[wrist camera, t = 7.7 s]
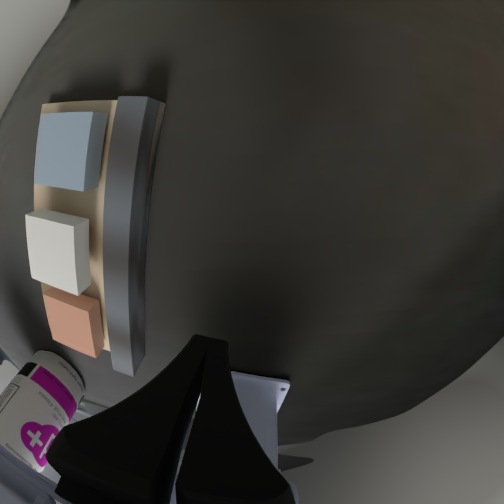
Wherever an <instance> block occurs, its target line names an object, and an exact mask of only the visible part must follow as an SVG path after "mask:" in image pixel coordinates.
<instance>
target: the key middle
mask: <svg viewBox="0 0 504 504" xmlns="http://www.w3.org/2000/svg"><path fill="white" fill-rule="evenodd" d="M25 217H26V234H27V245H28V254H29V262H30V269H31V276H32V278H33V279H36V280H38V281H41V282H43V283H46V284H48V285H51V286H53V287H56V288H58V289H61V290H63V291H66V292H69V293H72V294H74V295H77V296H79V295H80V294H81V293H82V292H83V291H84V290H85V289H86V288H87V287H89V286H90V285H91V278H90V260H89V219H87V218H83V217H78V216H73V215H69V214H64V213H59V212H55V211H50V210H46V209H38V210H36V211H33V212H31V213H28V214H26V215H25Z"/></svg>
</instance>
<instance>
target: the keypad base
mask: <svg viewBox="0 0 504 504" xmlns="http://www.w3.org/2000/svg"><path fill="white" fill-rule="evenodd" d="M165 106H166V104H165V103H163V102H160V101H158V100H155V99H153V98H150V97H144V96H118V100H93V101H73V102H60V103H50V104H43V105H42V110H41V114H48V113H63V112H100V113H107V114H108V117H107V122H106V128H105V134H104V141H103V148H102V156H101V165H100V175H99V187H97V188H93V189H90V190H87V191H77V190H71V189H65V188H58V187H51V186H45V185H38V184H34V211H36V210H38V209H46V210H50V211H55V212H59V213H64V214H69V215H73V216H78V217H83V218H87V219H89V260H90V278H91V285H90V286H89V287H87V288H86V289H85V290H84V291H83V292H82V293H81V294H82V295H85V296H88V297H91V298H94V299H97V300H99V304H100V314H101V323H102V331H103V338H104V345H105V346H104V348H103V349H105V350H108V351H110V352H111V359H112V365H113V370H116V371H118V372H121V373H124V374H127V375H130V376H133V377H134V375H135V373H136V371H137V369H138V368H139V366H140V364H141V362H142V360H143V358H144V356H145V341H144V281H145V257H146V241H147V228H148V217H149V207H150V198H151V189H152V181H153V174H154V167H155V160H156V154H157V148H158V142H159V136H160V131H161V125H162V120H163V115H164V111H165ZM40 118H41V116H40ZM39 124H40V123H39ZM38 131H39V130H38ZM37 140H38V138H37ZM36 149H37V147H36ZM35 161H36V158H35ZM34 180H35V175H34ZM41 287H42V293H45V292H46V291H47V290H48V289H50V288H51V287H52V286H51V285H48V284H46V283H43V282H41ZM43 298H44V297H43ZM44 303H45V302H44ZM45 308H46V307H45ZM46 313H47V312H46ZM48 322H49V321H48ZM49 326H50V325H49Z"/></svg>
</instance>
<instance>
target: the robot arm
mask: <svg viewBox="0 0 504 504" xmlns="http://www.w3.org/2000/svg"><path fill="white" fill-rule="evenodd" d="M289 388H290V382H289V381H288V380H283V379H275V378H269V377H262V376H256V375H250V374H245V373H239V372H234V371H231V370H230V364H229V356H228V343H227V341H224V340H219V339H215V338H210V337H206V336H202V335H197V334H195V335H193V336H192V338H191V339H190V341H189V342H188V343H187V345H186V346H185V347H184V348H183V349H182V351H181V352H180V353H179V354H178V355H177V356H176V357H175V358H174V359H173V360H172V361H171V363H170V364H169V365H168V366H167V367H166V368H164V369H163V370H162V371H161V372H160V373H159V374H158V375H157V376H156V377H155V378H153V379H152V380H151V381H150V382H149V383H147V384H146V385H145V386H143V387H142V388H141V389H139V390H138V391H137V392H135V393H134V394H132V395H131V396H129V397H127V398H126V399H124V400H123V401H121V402H119V403H118V404H116V405H114V406H112V407H110V408H108V409H106V410H104V411H102V412H100V413H98V414H96V415H94V416H91V417H89V418H86V419H84V420H81V421H78V422H75V423H73V424H69V425H66V426H64V427H63V428H62V429H61V430H60V432H59V433H58V434H57V435H56V437H55V438H54V440H53V441H52V443H51V445H50V447H49V449H48V450H47V452H46V454H45V457H46V460H47V461H48V463H49V464H50V465H51V466H52V467H53V468H54V469H55V470H56V471H57V472H58V473H59V474H60V476H61V478H60V480H59V483H58V484H56V483H55V482H53V481H51V480H50V479H48V478H47V477H45V476H43V475H42V474H40V473H39V472H37V471H36V470H34V469H33V468H31V467H30V466H28V465H27V464H25V463H24V462H23V461H21V460H20V459H18V458H17V457H16V456H14V455H13V454H12V453H10V452H9V451H8V450H7V449H5V448H4V447H3V446H2V445H0V504H56V502H55V500H57V501H58V502H60V503H62V504H299V498H298V492H297V488H296V486H295V485H293V484H292V483H291V482H290V481H289V480H286V479H285V478H284V477H283V476H282V475H281V474H280V469H277V412H278V410H279V408H280V406H281V404H282V402H283V400H284V398H285V396H286V394H287V392H288V390H289ZM196 405H197V409H196V414H195V418H194V421H193V425H192V429H191V432H190V436H189V439H188V443H187V446H186V450H185V453H184V456H183V460H182V462H179V458H180V454H181V450H182V446H183V442H184V439H185V435H186V432H187V430H188V427H189V424H190V421H191V419H192V416H193V413H194V410H195V407H196ZM178 463H179V466H178ZM177 467H178V470H177ZM54 499H55V500H54Z"/></svg>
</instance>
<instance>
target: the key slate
mask: <svg viewBox="0 0 504 504" xmlns="http://www.w3.org/2000/svg"><path fill="white" fill-rule="evenodd" d="M107 117H108V114H107V113H100V112H63V113H48V114H41V118H40V124H39V131H38V140H37V149H36V161H35V180H34V184H38V185H45V186H51V187H58V188H65V189H71V190H77V191H87V190H90V189H93V188H97V187H99V175H100V165H101V156H102V148H103V141H104V134H105V128H106V122H107Z"/></svg>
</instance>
